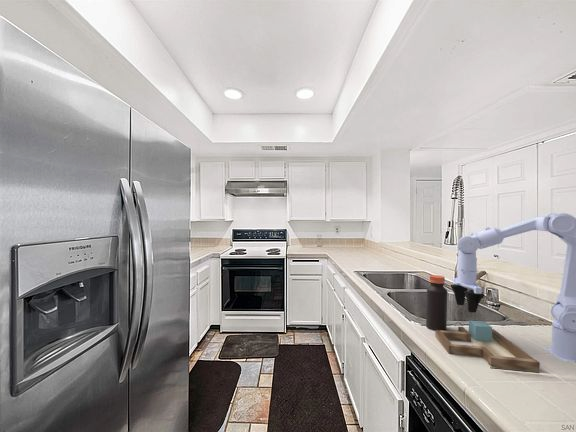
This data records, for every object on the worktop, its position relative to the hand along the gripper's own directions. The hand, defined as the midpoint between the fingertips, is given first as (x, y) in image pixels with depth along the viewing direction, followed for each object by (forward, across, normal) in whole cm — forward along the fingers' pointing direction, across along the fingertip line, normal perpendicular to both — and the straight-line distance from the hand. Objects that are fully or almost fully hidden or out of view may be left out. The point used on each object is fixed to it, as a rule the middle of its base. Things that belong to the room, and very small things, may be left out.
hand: (466, 308), depth 100 cm
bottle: (+10, -5, -8) cm, 14 cm away
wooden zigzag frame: (+10, +10, -2) cm, 14 cm away
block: (+9, +3, +3) cm, 10 cm away
